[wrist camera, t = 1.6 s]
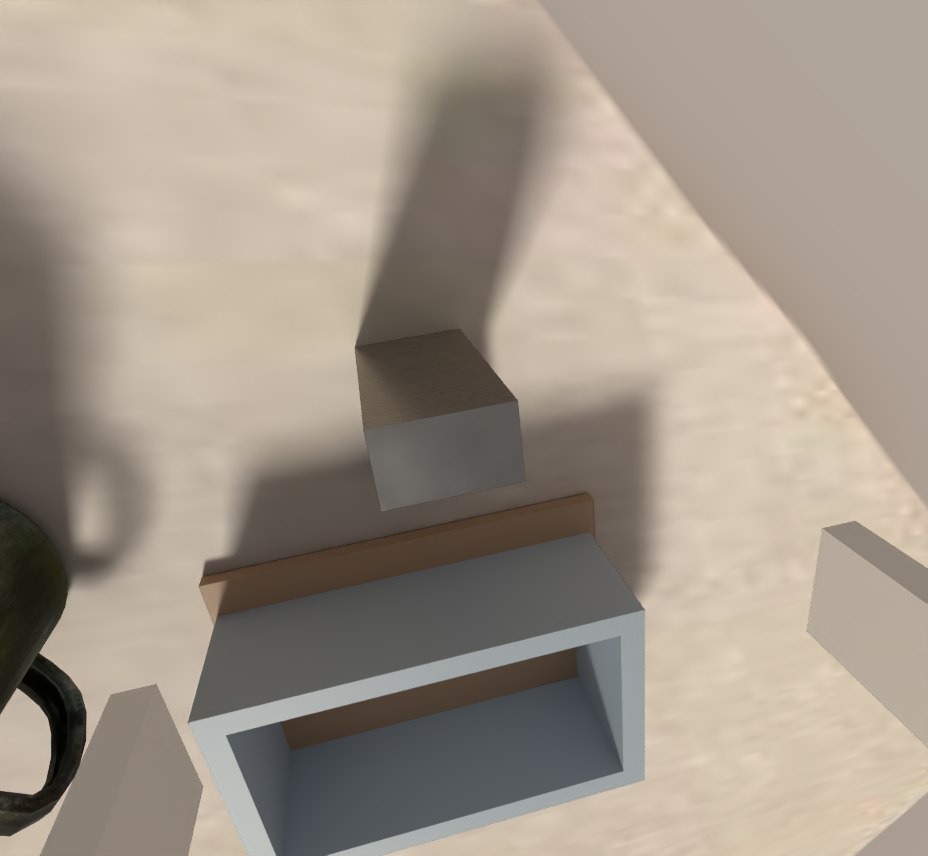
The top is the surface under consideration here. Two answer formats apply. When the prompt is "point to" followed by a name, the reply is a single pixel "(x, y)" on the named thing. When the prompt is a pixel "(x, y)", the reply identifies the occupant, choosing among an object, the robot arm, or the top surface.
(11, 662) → the mug
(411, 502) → the brushed grey block
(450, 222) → the top surface
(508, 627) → the box
